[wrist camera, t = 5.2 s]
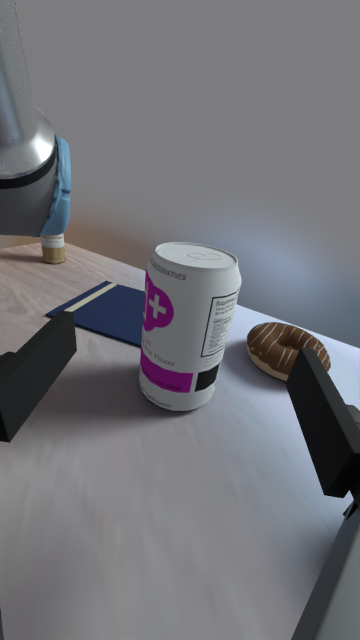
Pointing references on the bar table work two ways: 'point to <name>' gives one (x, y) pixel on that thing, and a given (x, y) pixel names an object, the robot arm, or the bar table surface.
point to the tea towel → (109, 311)
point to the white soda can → (186, 322)
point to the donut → (281, 348)
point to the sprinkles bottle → (53, 249)
